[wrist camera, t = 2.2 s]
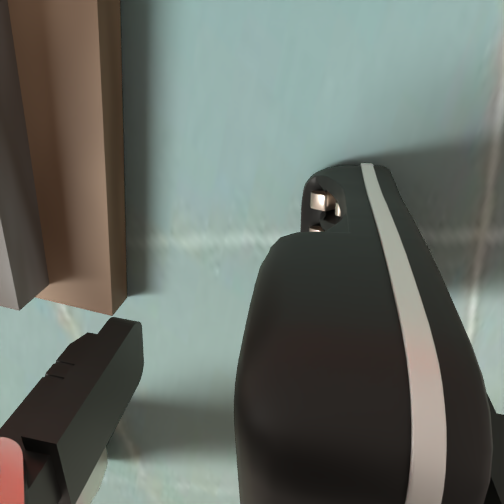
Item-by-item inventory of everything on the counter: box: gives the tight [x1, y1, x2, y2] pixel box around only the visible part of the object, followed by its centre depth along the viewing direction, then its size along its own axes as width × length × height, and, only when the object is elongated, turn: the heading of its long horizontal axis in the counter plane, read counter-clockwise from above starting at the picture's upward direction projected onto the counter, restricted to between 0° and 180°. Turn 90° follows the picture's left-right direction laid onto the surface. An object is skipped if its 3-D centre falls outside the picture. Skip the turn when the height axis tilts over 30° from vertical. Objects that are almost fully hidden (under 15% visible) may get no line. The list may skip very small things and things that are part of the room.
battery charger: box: [234, 163, 493, 504], centre depth 11 cm, size 7×4×11 cm, turn 2°
